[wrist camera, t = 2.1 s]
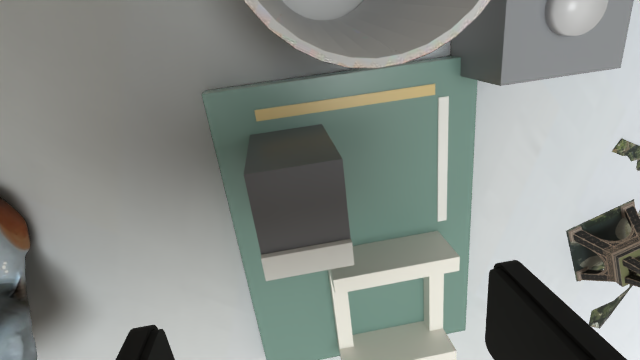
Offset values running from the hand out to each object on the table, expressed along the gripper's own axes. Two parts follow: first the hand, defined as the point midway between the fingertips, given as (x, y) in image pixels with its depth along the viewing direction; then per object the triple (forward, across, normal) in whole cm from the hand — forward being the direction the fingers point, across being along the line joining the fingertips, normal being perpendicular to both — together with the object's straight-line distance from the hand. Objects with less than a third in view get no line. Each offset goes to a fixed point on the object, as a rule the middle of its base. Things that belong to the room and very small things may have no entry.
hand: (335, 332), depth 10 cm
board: (+13, -3, +4) cm, 14 cm away
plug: (+12, 0, -1) cm, 12 cm away
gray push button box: (+13, -12, -8) cm, 20 cm away
